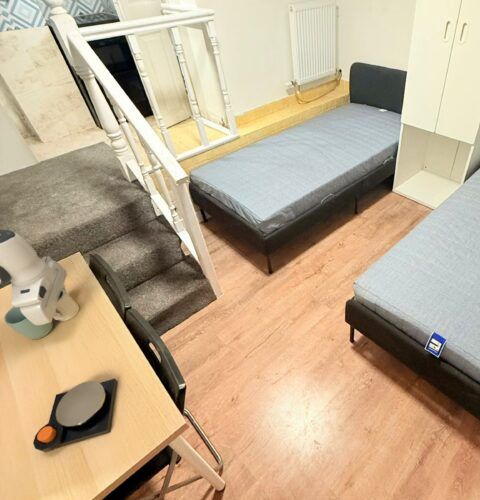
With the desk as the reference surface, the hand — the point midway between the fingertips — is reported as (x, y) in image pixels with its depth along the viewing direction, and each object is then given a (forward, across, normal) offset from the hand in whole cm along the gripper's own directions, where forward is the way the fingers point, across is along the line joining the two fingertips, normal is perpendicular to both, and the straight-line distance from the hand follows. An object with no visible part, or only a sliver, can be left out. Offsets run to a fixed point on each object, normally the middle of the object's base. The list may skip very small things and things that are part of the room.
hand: (62, 307), depth 103 cm
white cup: (+3, 0, 0) cm, 3 cm away
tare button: (0, +39, +6) cm, 40 cm away
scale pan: (-1, +34, +12) cm, 36 cm away
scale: (+3, +35, +11) cm, 37 cm away
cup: (+3, +5, -6) cm, 8 cm away
